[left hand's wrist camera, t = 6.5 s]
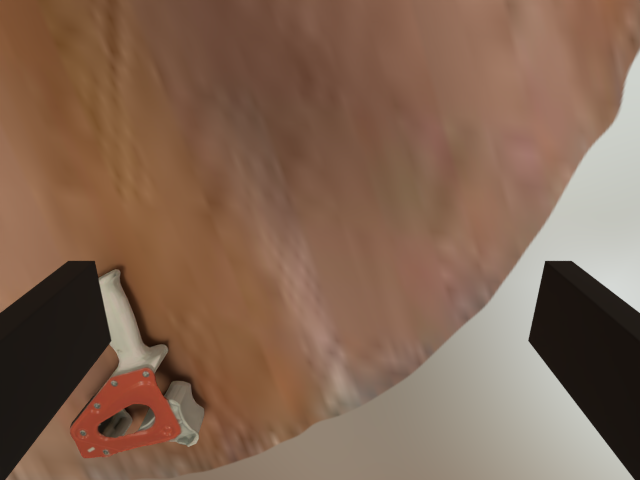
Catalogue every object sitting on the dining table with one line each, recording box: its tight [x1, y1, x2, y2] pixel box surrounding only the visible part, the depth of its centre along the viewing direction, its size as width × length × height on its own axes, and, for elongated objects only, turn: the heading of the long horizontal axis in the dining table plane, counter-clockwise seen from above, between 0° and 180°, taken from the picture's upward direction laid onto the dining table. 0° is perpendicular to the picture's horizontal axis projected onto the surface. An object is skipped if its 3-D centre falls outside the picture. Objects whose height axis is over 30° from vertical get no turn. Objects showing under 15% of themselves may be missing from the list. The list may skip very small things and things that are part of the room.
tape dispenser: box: [70, 269, 204, 458], centre depth 45 cm, size 18×5×20 cm
